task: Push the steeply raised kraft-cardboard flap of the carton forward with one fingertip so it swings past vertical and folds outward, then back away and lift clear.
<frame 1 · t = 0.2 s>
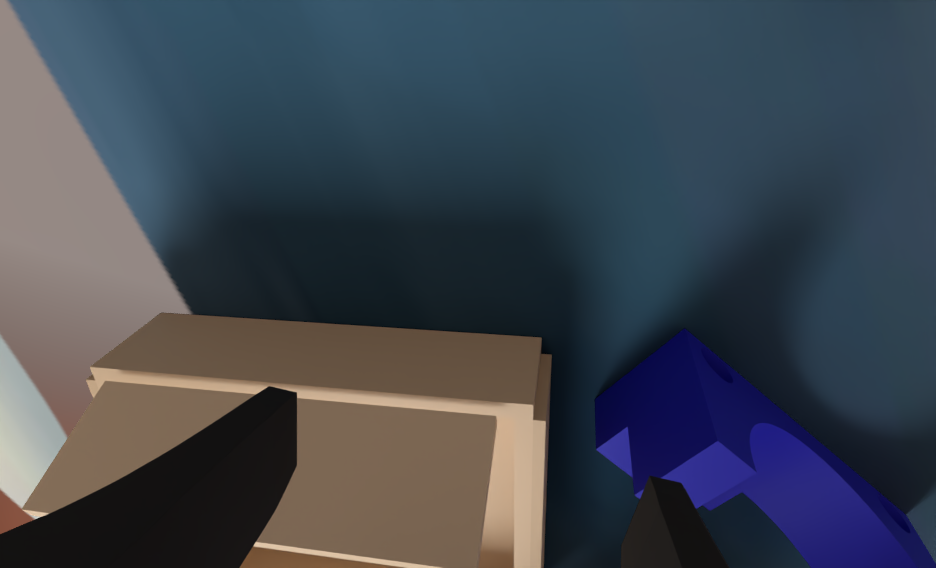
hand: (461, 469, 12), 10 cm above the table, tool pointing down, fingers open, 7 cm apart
cable clip: (747, 449, 23), on the table
carton flap: (265, 465, 18), point 7 cm above the table, hinge at 68.0°
carton: (360, 457, 26), on the table
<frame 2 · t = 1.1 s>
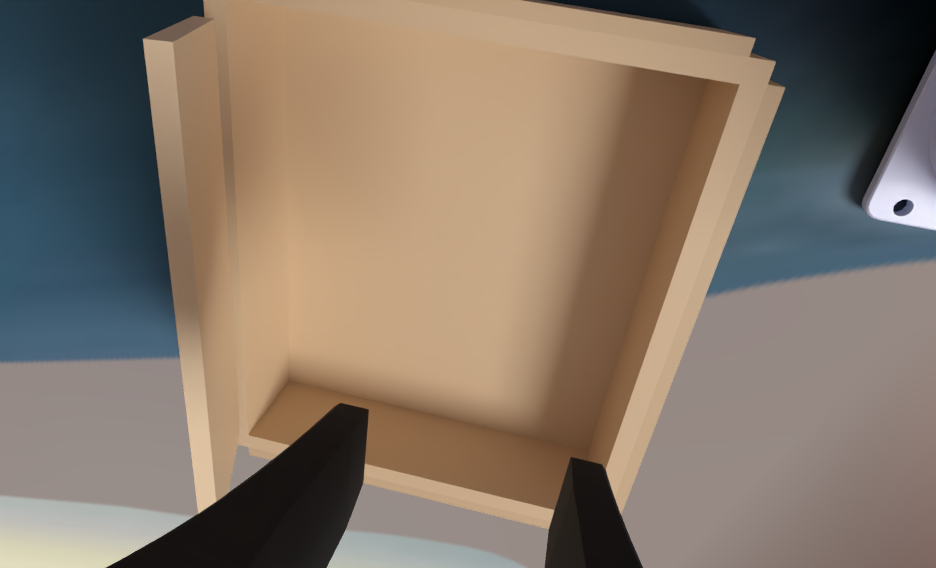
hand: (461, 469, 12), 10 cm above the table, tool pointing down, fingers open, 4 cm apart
carton flap: (207, 300, 16), point 7 cm above the table, hinge at 68.0°
carton: (461, 249, 21), on the table
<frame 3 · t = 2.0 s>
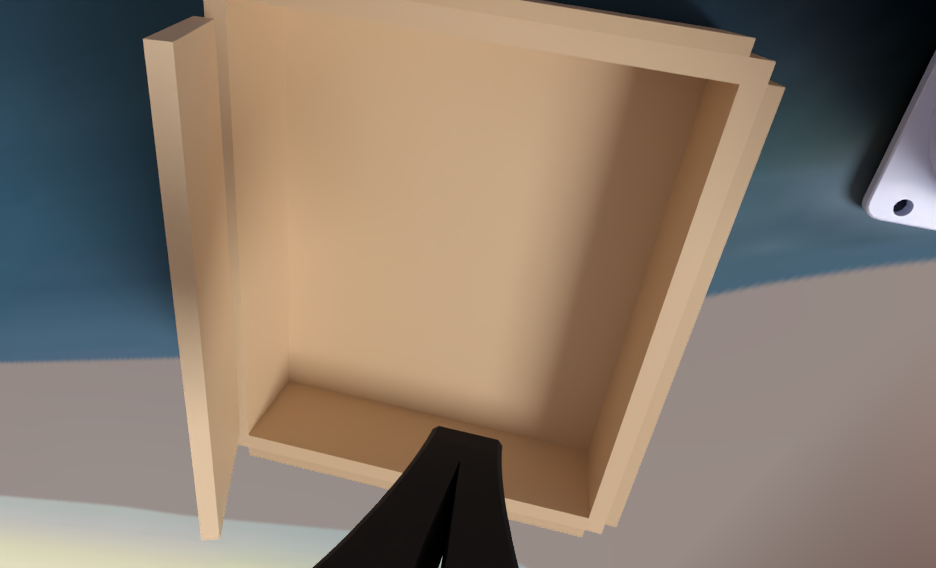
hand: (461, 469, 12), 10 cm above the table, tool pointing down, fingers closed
carton flap: (207, 300, 16), point 7 cm above the table, hinge at 68.0°
carton: (461, 249, 21), on the table
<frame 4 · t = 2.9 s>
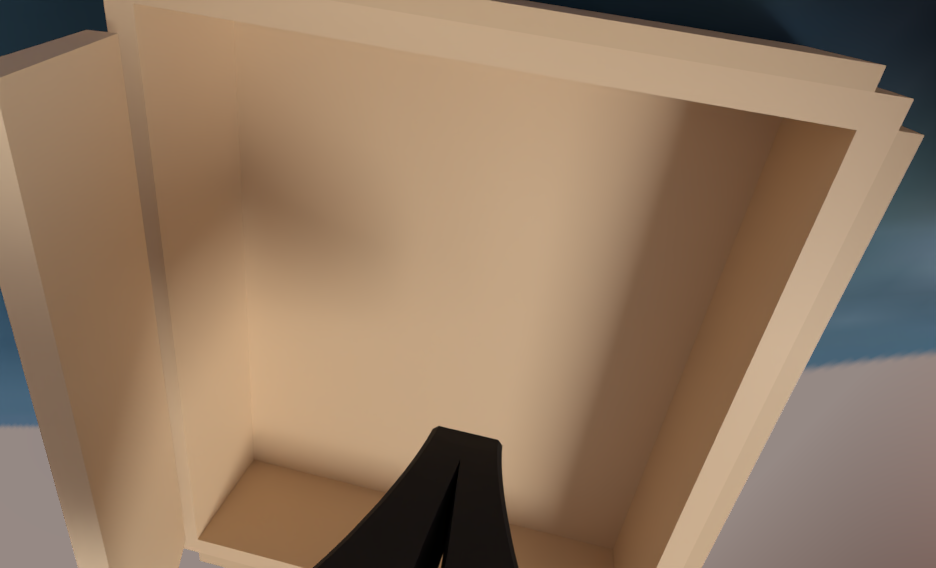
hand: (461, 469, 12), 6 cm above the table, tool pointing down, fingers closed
carton flap: (118, 410, 12), point 7 cm above the table, hinge at 68.0°
carton: (460, 313, 17), on the table
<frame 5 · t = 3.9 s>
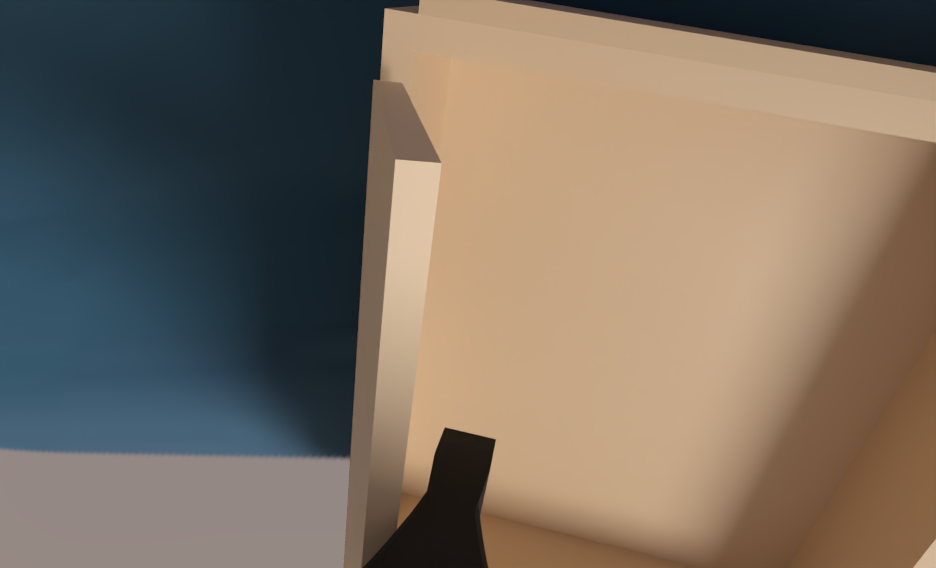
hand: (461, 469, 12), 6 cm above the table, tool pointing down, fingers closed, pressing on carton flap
carton flap: (369, 467, 11), point 7 cm above the table, hinge at 68.4°, touching gripper
carton: (641, 349, 17), on the table
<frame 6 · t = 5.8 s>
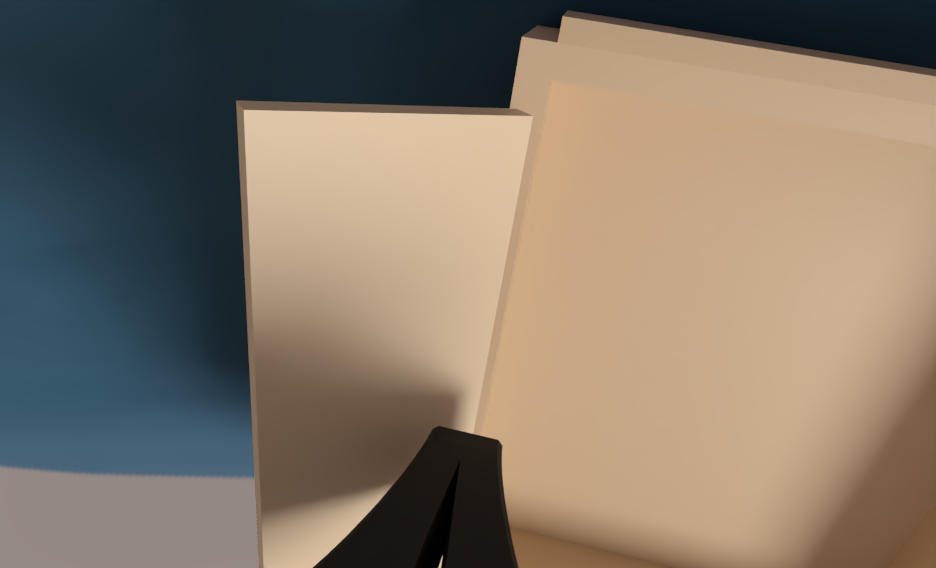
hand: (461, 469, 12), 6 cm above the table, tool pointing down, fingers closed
carton flap: (372, 452, 12), point 6 cm above the table, hinge at 140.6°
carton: (728, 373, 16), on the table
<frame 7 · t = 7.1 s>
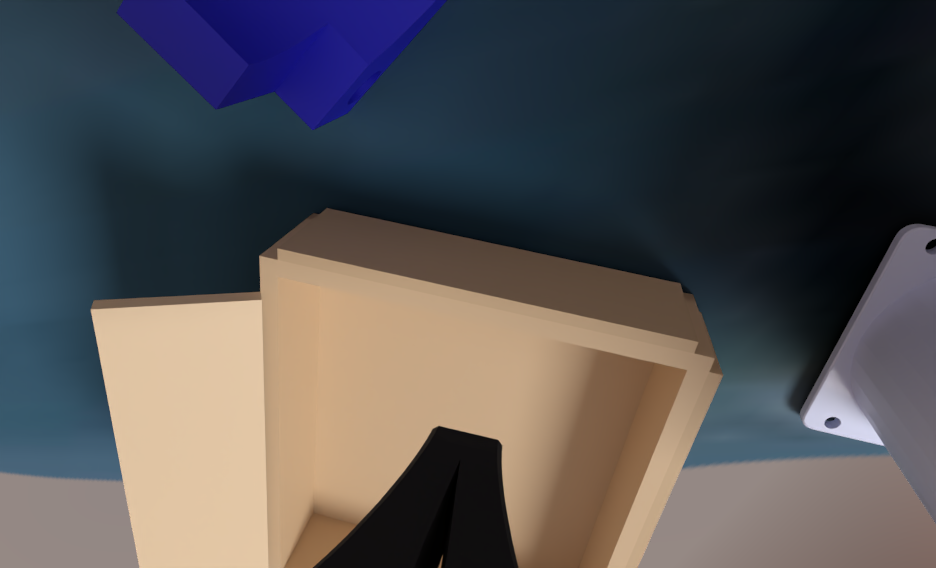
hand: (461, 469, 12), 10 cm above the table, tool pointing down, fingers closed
carton flap: (198, 467, 20), point 6 cm above the table, hinge at 148.3°
carton: (465, 421, 25), on the table
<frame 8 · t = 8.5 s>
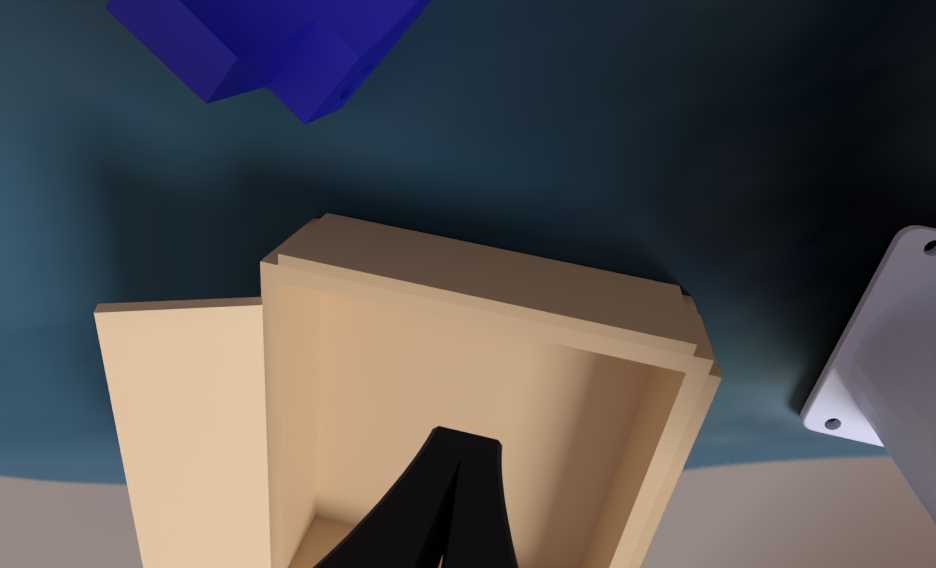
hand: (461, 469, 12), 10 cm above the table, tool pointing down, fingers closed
carton flap: (200, 470, 21), point 6 cm above the table, hinge at 150.3°
carton: (466, 423, 25), on the table
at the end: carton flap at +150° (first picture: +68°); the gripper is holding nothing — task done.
